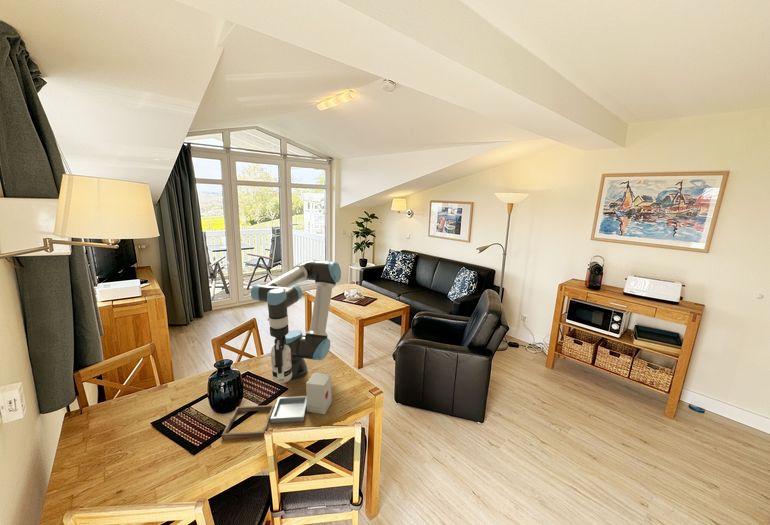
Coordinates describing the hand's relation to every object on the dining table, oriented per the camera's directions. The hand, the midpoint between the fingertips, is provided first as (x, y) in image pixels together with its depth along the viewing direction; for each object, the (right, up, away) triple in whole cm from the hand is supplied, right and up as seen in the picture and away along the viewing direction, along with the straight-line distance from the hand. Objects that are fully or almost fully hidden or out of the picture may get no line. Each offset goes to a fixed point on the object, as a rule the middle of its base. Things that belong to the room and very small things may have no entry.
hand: (282, 372), depth 134 cm
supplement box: (+15, -19, +9) cm, 26 cm away
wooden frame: (-13, -21, -2) cm, 25 cm away
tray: (+2, -20, +5) cm, 21 cm away
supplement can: (0, -3, +1) cm, 3 cm away
